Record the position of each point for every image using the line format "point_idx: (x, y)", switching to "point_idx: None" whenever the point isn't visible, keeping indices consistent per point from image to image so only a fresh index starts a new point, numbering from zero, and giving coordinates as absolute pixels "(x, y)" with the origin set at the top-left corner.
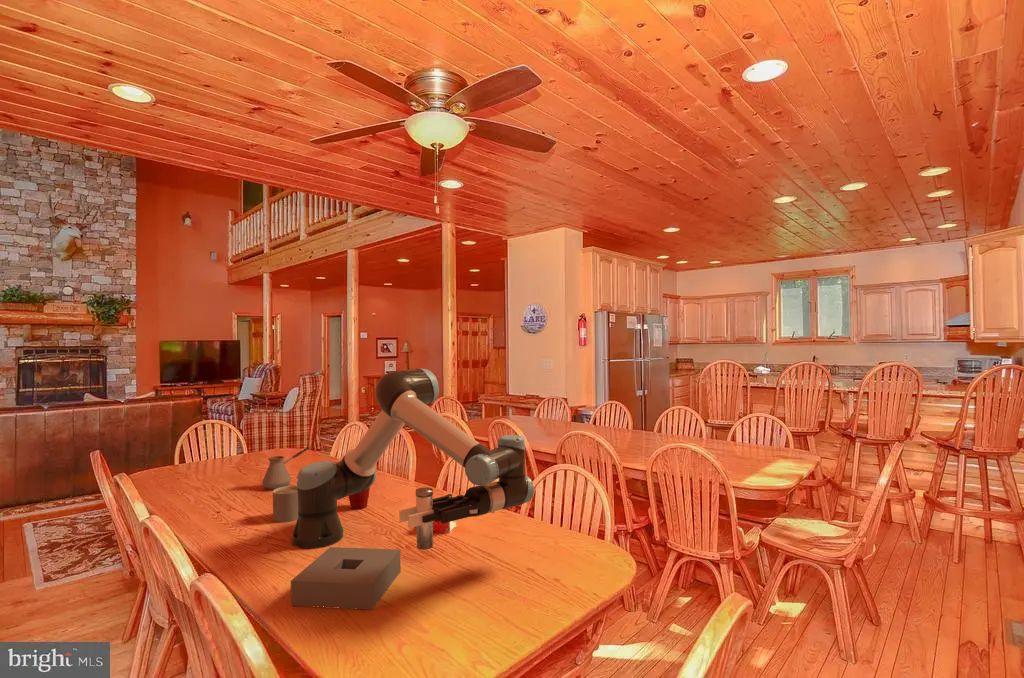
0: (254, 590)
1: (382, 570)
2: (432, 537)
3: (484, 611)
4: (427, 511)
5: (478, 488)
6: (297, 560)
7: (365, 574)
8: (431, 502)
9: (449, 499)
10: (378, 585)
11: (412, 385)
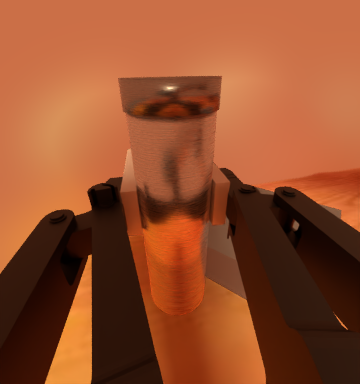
0: (271, 187)
1: (217, 250)
2: (157, 287)
3: None
4: (129, 177)
5: None
6: (357, 213)
7: (212, 229)
8: (136, 155)
9: (302, 338)
10: None
11: None
